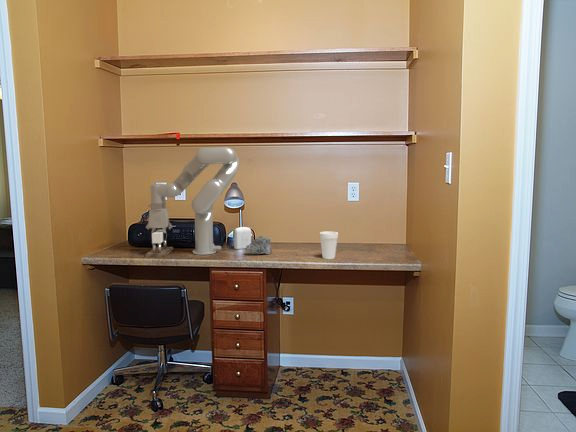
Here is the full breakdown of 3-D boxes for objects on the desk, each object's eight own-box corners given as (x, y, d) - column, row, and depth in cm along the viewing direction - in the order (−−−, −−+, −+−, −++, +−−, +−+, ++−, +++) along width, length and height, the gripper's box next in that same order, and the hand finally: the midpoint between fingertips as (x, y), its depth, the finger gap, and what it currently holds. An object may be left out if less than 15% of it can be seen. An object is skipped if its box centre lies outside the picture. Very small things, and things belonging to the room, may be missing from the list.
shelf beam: (160, 243, 235) (160, 233, 234) (152, 243, 234) (151, 233, 234) (166, 238, 249) (166, 229, 249) (158, 238, 249) (158, 229, 249)
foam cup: (335, 255, 236) (335, 231, 235) (340, 259, 227) (340, 233, 226) (317, 256, 235) (317, 231, 233) (321, 259, 226) (322, 234, 224)
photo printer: (248, 246, 261) (248, 225, 259) (252, 248, 257) (252, 226, 256) (232, 248, 255) (232, 227, 254) (236, 250, 252) (236, 228, 250)
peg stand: (173, 249, 253) (173, 239, 252) (164, 256, 233) (164, 245, 232) (155, 249, 253) (155, 239, 252) (145, 257, 233) (145, 245, 232)
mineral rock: (245, 255, 237) (245, 236, 235) (249, 251, 247) (249, 233, 246) (269, 256, 235) (269, 237, 233) (272, 252, 245) (272, 234, 244)
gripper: (140, 207, 236) (141, 241, 238) (172, 207, 236) (173, 241, 239) (144, 206, 243) (145, 239, 245) (175, 205, 244) (176, 238, 246)
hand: (159, 239), depth 242 cm, fingers closed on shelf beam, 4 cm apart
